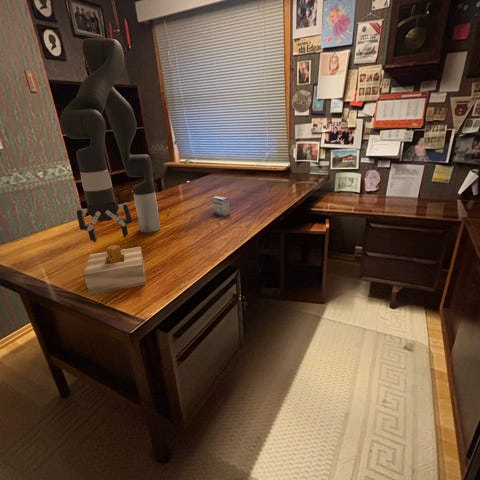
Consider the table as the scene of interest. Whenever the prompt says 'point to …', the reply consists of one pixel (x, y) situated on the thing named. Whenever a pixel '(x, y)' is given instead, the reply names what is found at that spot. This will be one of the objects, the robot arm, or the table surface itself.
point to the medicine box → (220, 205)
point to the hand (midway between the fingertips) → (110, 238)
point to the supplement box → (114, 254)
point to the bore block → (114, 271)
